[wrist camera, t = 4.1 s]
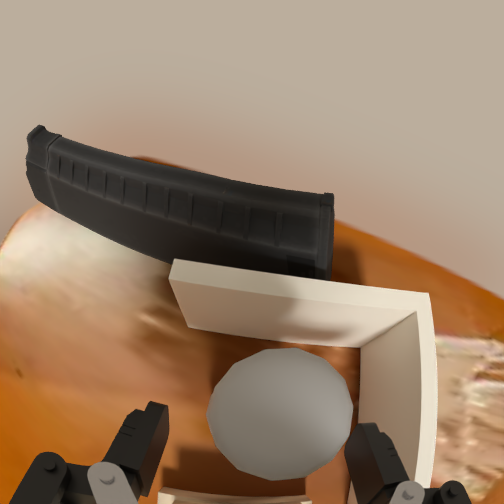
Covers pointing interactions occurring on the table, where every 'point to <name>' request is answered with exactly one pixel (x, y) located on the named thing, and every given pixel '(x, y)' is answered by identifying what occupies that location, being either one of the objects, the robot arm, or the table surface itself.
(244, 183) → the magazine
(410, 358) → the bracket
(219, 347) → the table surface
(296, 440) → the salt shaker
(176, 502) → the offcut short
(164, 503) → the block
